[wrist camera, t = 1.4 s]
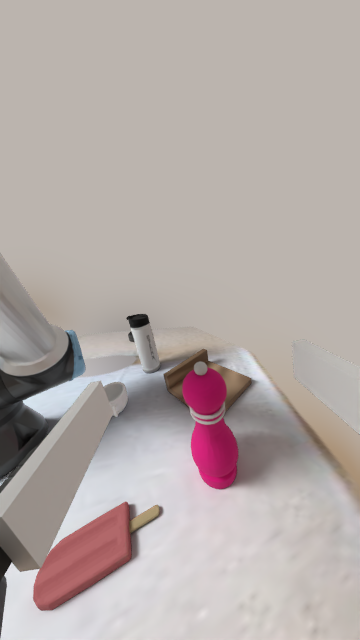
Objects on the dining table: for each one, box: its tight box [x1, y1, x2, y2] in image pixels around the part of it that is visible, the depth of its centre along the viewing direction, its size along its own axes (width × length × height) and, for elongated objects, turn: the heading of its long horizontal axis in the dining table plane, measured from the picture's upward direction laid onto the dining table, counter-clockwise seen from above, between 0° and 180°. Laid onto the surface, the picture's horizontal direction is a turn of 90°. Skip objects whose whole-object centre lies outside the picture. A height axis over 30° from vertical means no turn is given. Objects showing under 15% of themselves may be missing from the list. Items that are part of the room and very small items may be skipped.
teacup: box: [103, 382, 128, 417], centre depth 42 cm, size 10×8×5 cm
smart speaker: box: [128, 332, 135, 342], centre depth 87 cm, size 9×9×4 cm
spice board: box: [164, 349, 251, 412], centre depth 44 cm, size 16×16×6 cm
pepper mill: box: [182, 362, 238, 489], centre depth 24 cm, size 7×7×20 cm
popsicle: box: [33, 502, 160, 611], centre depth 21 cm, size 5×2×15 cm
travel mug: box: [127, 314, 161, 373], centre depth 56 cm, size 6×7×20 cm
